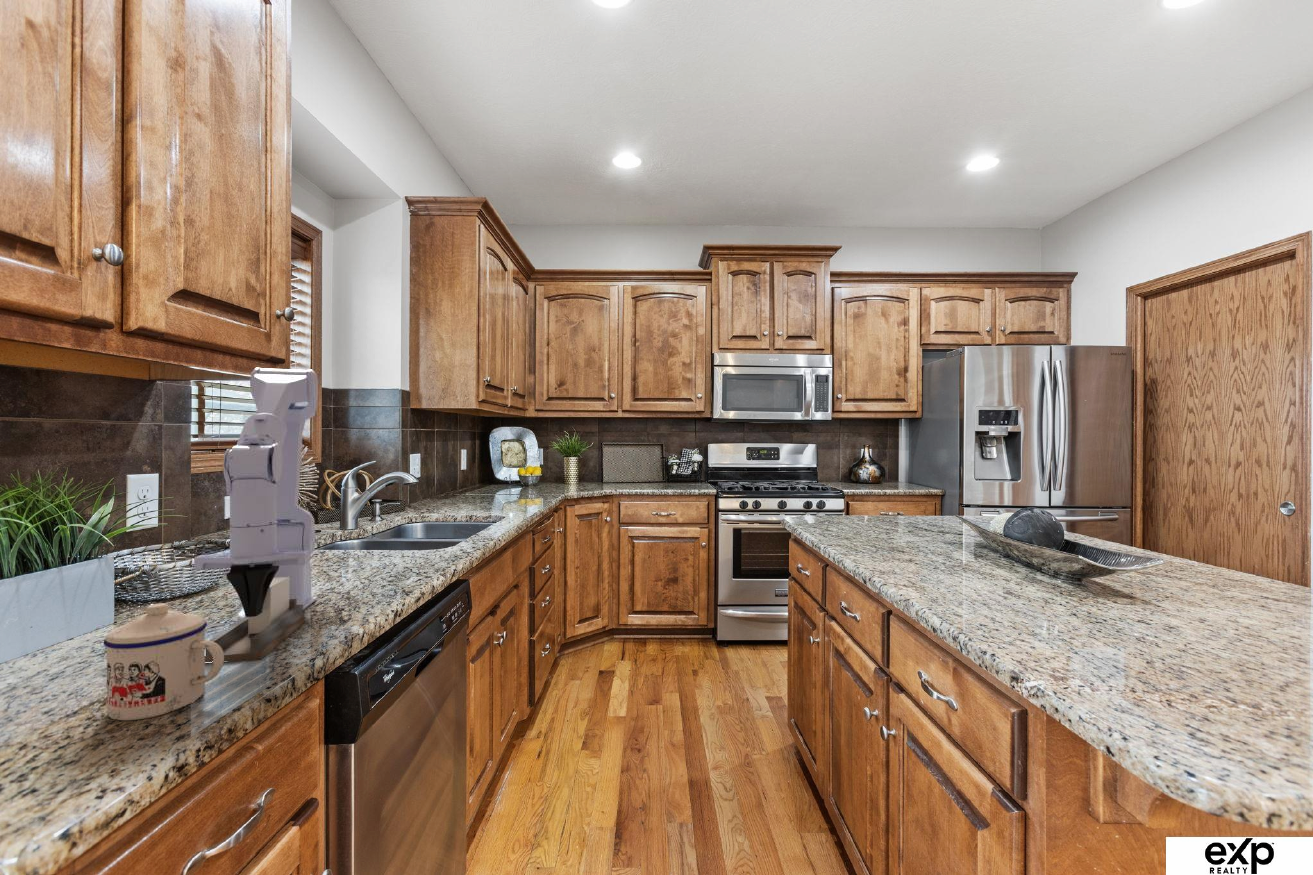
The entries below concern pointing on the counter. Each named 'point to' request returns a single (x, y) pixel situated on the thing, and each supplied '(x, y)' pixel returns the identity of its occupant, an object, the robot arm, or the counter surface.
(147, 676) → the teacup with lid
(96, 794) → the counter surface
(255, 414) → the robot arm
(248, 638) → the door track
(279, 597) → the beige rectangular block
